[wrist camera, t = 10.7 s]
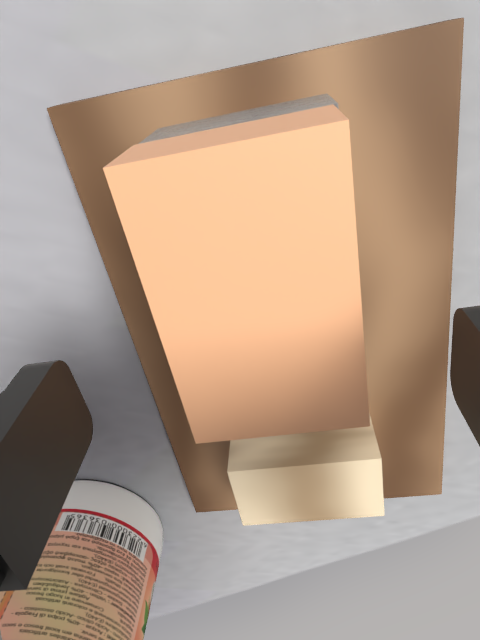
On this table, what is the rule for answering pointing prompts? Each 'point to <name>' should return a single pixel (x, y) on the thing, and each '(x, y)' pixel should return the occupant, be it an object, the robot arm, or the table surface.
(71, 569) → the fruit juice
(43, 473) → the robot arm
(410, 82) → the twin stand
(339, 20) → the table surface
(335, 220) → the cover
